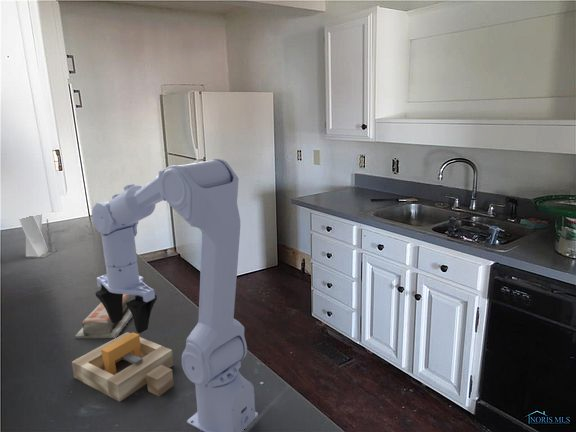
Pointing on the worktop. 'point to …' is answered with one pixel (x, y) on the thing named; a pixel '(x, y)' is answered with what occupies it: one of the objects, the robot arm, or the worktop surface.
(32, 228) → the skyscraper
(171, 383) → the wooden cube
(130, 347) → the wooden block
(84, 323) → the packaged product
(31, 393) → the worktop surface
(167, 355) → the birch drawer
